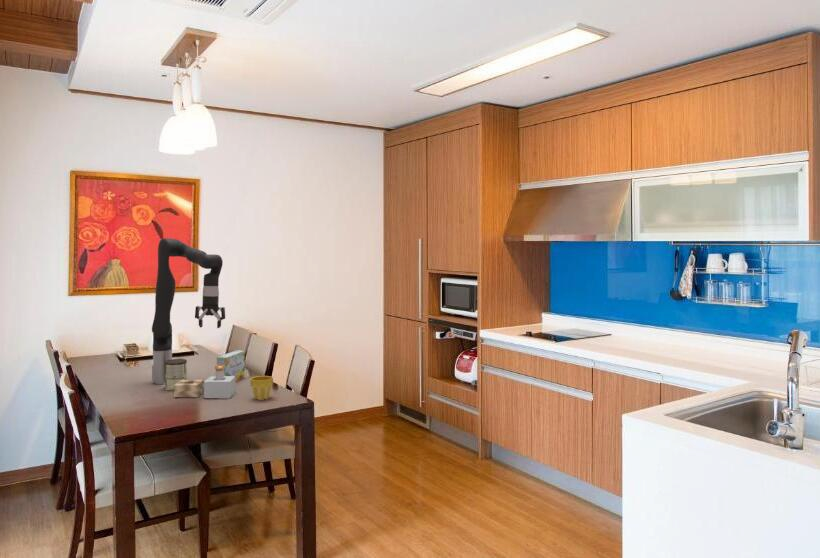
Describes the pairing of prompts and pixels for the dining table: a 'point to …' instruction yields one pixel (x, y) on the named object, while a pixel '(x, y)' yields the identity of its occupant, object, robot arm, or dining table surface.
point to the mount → (189, 388)
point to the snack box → (233, 364)
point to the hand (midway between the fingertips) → (209, 327)
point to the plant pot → (261, 386)
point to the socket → (219, 387)
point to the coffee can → (175, 372)
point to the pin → (219, 372)
